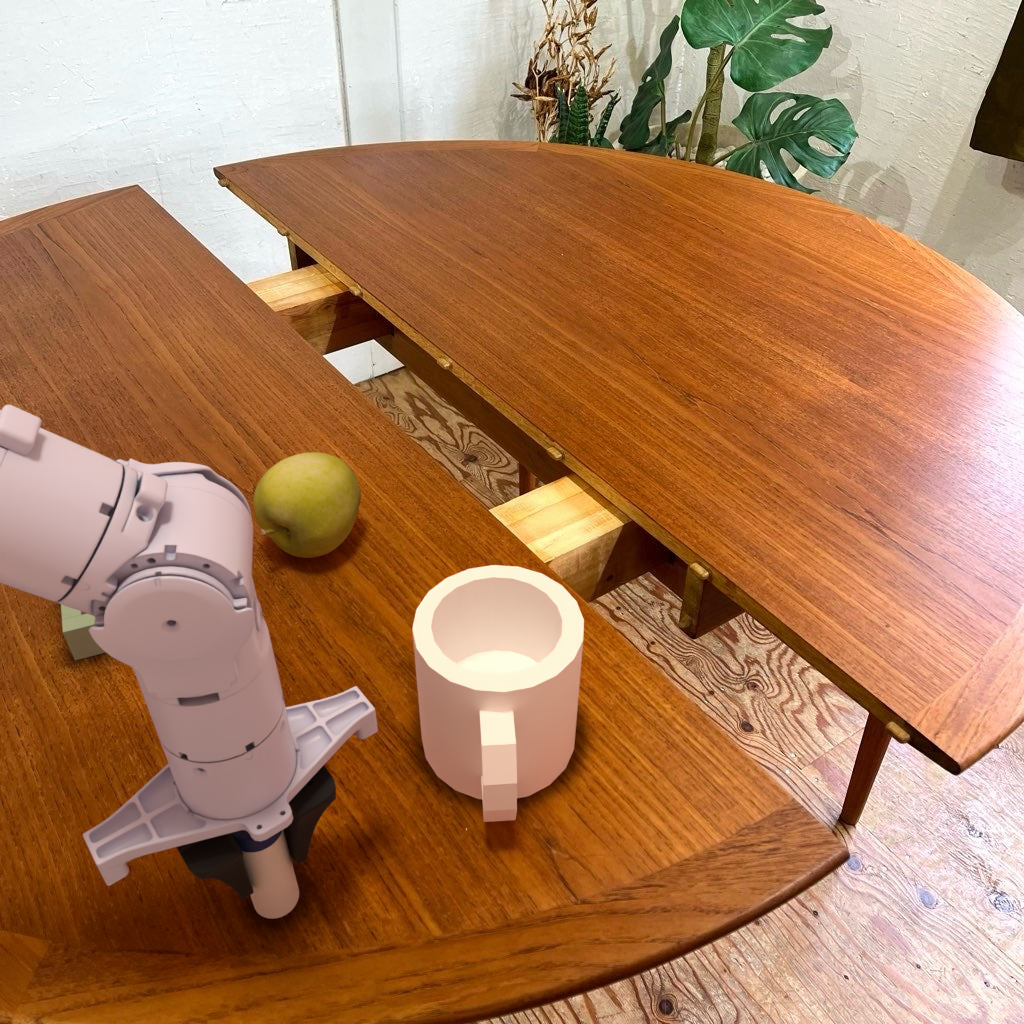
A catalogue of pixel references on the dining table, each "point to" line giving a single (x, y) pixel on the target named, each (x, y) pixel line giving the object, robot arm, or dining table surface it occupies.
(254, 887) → the test tube
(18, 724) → the dining table surface
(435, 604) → the mug
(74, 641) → the tube rack
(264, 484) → the apple
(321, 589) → the dining table surface
